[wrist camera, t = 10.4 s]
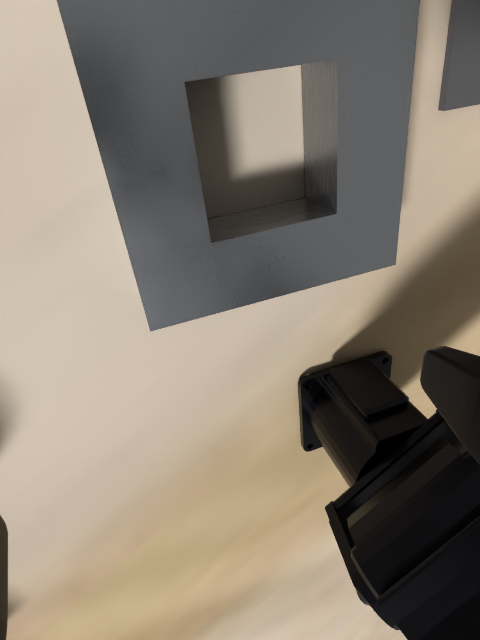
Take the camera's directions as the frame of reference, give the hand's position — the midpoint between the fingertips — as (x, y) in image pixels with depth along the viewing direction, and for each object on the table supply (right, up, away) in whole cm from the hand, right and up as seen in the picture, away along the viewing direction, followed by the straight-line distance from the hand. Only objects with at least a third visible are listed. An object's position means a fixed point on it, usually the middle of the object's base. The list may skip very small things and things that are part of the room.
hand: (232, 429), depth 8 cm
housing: (0, +10, +10) cm, 14 cm away
